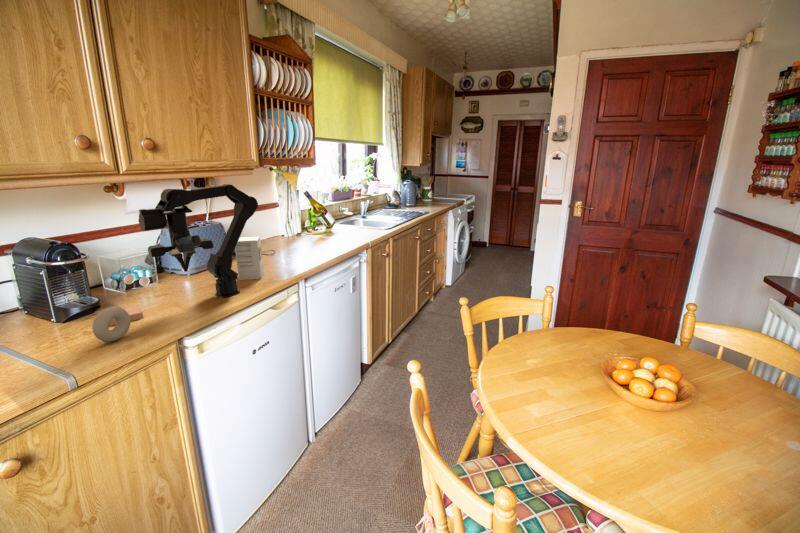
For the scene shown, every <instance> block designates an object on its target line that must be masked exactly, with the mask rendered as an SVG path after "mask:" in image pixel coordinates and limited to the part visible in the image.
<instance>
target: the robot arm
mask: <svg viewBox="0 0 800 533" xmlns="http://www.w3.org/2000/svg"><path fill="white" fill-rule="evenodd" d="M221 197H226V198H228V199H229V201H230V202H232V203H233V204H234V206H233V217H232V220H231V222H230V224H229V227H228V229H227V231H226V233H225V236H224V238H223V241H222V243H221V246H220V248H219V250H218V251H217V252H216V253H210V255H209V258H208V260H207V262H206V264H207V266H206V269H207V271H208V272H209V274H211V275H212V276H213V277H214V278H215V282H216V283H215V285H214V286H215V291H216V292H215V295H216V296H219V297H222V298H227V297H228V298H229V297H231V296H234V295H237V294H239V293H241V291H240V290H238V285H237V284H238V283H237V280H238V277H239V275H238V272H236V271H234V270H233V269H232V266H233V254H234V252H235V247H236V245H237V242H238V240H239V238H241V235H242V233H243V231H244V228H245V226H246V223H247V222H248V220H249V219H250V218H251V217H253V215H254V214H255V212H256V211H257V209H258V208H259V203H258V200H257V198H255V197H254V196H250V195H248V194H247V193H245V192H243V191H242V190H240V189H238V188H237V187H236V186H235V185H233V184H228V183H225V184H221V185H214V186H207V187H199V188H191V189H189V188H188V189H187V188H186V189H185V188H184V189H183V188H165V189H163V190H162V191H161V194H160V199H159V201H158V203H157V205H156V206H155V208H152V209H151V208H149V209H145V208H142V209H140V208H139V210H138V213H139V214H138V219H137V220H138V224H139V225H138V226H139V227H140V230H141V231H142V232H149V231H150V232H151V231H158V230H163V229H165V227H167V228H168V233H169V240H170V245H169V246H164V245H162V244H155V245H150V246H148V247H147V251H148V253H147V254H148V255H149V256H150V257H152V258H157V257H164V256H165V255H166V253H168V255H170V256H171V257H174V258H175V259H176V260H177V262H178V263H179V265H180V267H181V268H182V270H183V271H184V272H185V273H186V272H188V271H189V267H190V262H191V258H192V257H193V255H194V254H197V251H196V248H202V249H203V250H210V249H214V243H213V241H212V240H211V239H210V238H201V237H200V235H198V234H197V235H196V234H195V235H192V236H191V233H190V230H189V226H188V218H187V214H189V213H193V210H192V209H190V208H189V207H188V206H187V205H190V204H192V203H194V202H196V201H202V200H208V199H216V198H221Z"/></svg>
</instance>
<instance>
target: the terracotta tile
mask: <svg viewBox="0 0 800 533" xmlns="http://www.w3.org/2000/svg"><path fill="white" fill-rule="evenodd" d="M123 309H125V310H126V311H127V313H128V314H129V316H130V322H132V321H137V320H141V319H144V315H143V314H144V313H143V311H142V309H141V308H140V306H139V305H134V306H129V307H126V308H123ZM114 325H115V326H116V320H115V319H114V318H113V319H111V320H110V322H109V323H108V327H111V326H114Z"/></svg>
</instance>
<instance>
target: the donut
mask: <svg viewBox="0 0 800 533" xmlns="http://www.w3.org/2000/svg"><path fill="white" fill-rule="evenodd" d="M113 318H114V319H115V320H116V325H115V326H114V327H113V328H112V329H110V328H109V324H108V323H109V322H110V320H111V319H113ZM92 322H93V323H92V333H93V335H94V336H95V338H96V339H97V340H98V341H102V342H104V343H113V342H117V341H118V340H120V339H122V338H123V337H124V336H125V335H126V334H127V333H128V331H129V329H130V327H131V326H130V325H131V321H130V316H129V314H128V313H127V311H126V310H125V309H124V308H123V307H121V306H110V307H109V306H108V307H106V308H104V309H102V310H101V311H99V313H97V314H96V316H95V318H94V319H93V321H92Z"/></svg>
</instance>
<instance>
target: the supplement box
mask: <svg viewBox="0 0 800 533" xmlns="http://www.w3.org/2000/svg"><path fill="white" fill-rule="evenodd" d="M261 243H262V242H261V236H246V237H245V236H242V237H241V236H240V238H239V240H238V242H237V245H236V247H235V249H234V252H235V259H236V260H235V261H236V266H237V273H238V279H239V281H246V280H260V279H261V280H262V278H263V276H264V274H265V269H264V261H263V253H262V244H261Z"/></svg>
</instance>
